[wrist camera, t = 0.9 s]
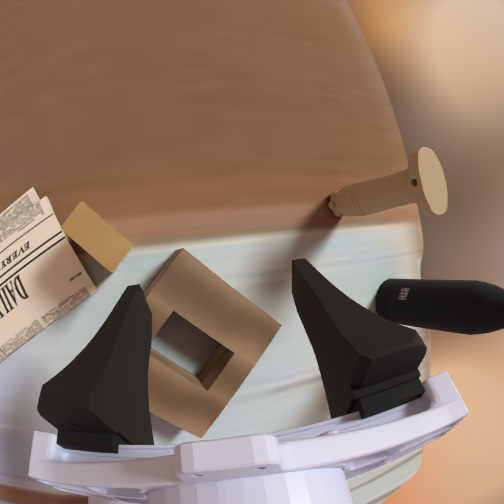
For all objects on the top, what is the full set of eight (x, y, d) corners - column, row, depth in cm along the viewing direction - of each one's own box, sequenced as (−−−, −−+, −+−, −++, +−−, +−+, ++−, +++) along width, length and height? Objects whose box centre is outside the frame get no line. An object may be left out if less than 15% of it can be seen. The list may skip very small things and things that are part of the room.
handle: (327, 232, 37) (428, 217, 23) (316, 181, 36) (412, 145, 23) (354, 226, 39) (451, 211, 25) (344, 179, 38) (437, 148, 25)
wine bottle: (403, 315, 42) (584, 333, 15) (376, 326, 40) (580, 356, 12) (401, 275, 42) (589, 274, 15) (374, 282, 40) (589, 287, 12)
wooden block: (115, 270, 27) (111, 272, 20) (76, 237, 25) (60, 228, 18) (130, 250, 28) (132, 244, 20) (92, 217, 26) (81, 200, 19)
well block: (191, 420, 29) (201, 438, 25) (95, 362, 25) (92, 376, 22) (263, 319, 33) (281, 325, 29) (175, 250, 29) (183, 248, 26)
